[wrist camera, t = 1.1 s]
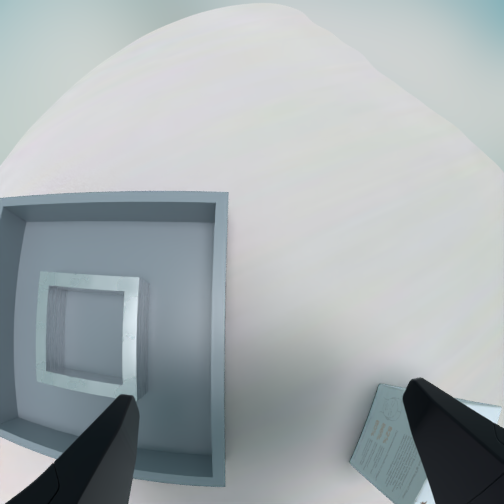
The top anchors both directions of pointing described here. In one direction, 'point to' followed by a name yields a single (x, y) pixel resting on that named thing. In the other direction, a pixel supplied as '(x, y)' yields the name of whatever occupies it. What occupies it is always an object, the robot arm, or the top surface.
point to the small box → (398, 448)
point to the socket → (53, 334)
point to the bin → (121, 322)
